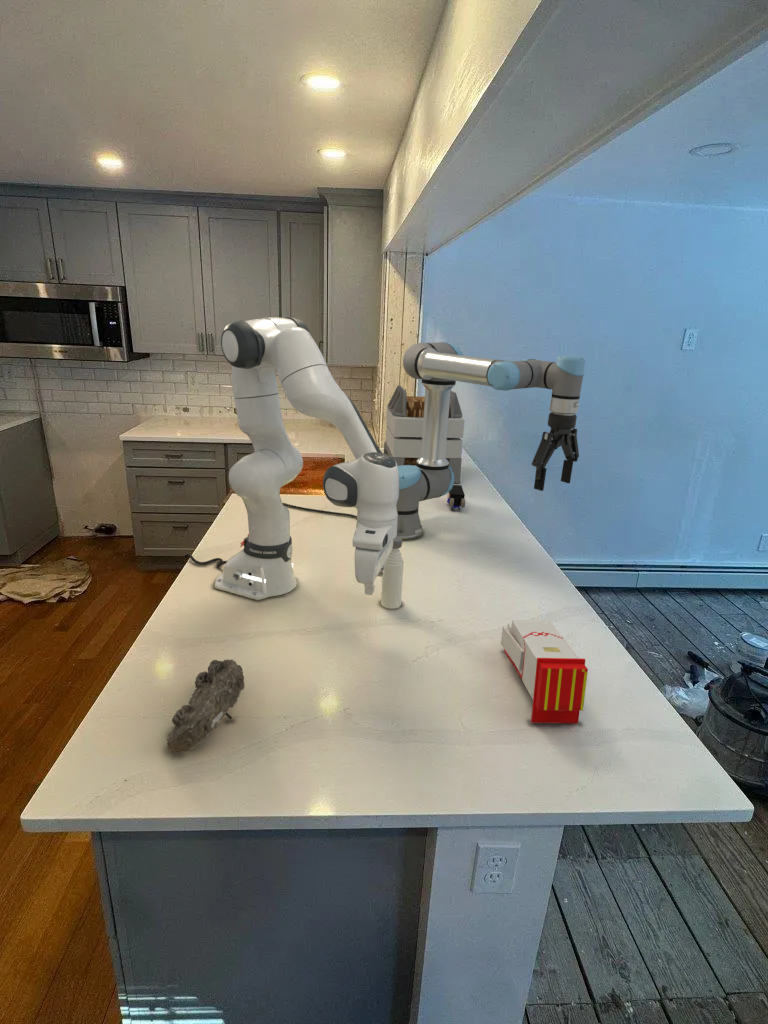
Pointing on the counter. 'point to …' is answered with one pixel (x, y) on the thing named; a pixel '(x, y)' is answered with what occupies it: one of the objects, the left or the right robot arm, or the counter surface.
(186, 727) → the fossil
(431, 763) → the counter surface
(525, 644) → the toy
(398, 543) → the cap
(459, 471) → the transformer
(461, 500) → the figurine character
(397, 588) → the bottle
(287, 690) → the counter surface
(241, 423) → the left robot arm
